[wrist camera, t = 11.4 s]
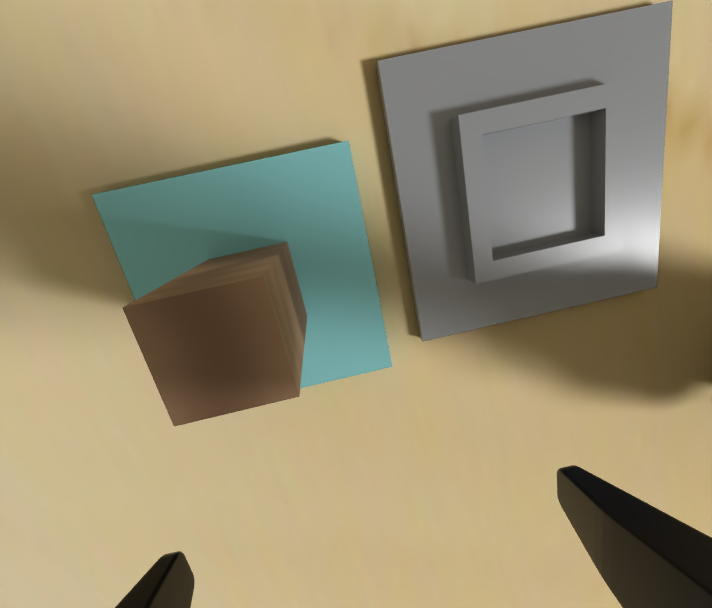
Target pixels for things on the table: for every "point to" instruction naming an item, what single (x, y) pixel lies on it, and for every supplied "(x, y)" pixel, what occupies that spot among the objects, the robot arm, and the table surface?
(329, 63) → the table surface
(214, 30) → the table surface
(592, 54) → the holder
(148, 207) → the mat
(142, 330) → the walnut block
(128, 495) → the table surface
